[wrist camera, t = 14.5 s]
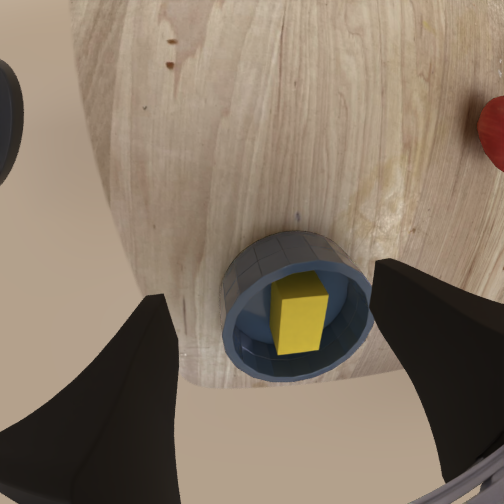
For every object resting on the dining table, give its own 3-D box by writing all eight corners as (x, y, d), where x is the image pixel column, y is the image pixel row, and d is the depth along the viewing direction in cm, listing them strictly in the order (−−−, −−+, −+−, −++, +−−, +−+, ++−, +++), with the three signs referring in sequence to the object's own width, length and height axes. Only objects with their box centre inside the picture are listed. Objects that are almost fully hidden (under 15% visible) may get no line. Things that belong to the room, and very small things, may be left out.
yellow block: (269, 325, 21) (277, 355, 19) (271, 272, 19) (281, 299, 17) (306, 321, 22) (318, 350, 19) (313, 269, 20) (329, 294, 17)
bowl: (229, 352, 23) (234, 392, 19) (209, 241, 18) (209, 276, 15) (346, 331, 24) (364, 365, 20) (356, 222, 19) (386, 248, 16)
